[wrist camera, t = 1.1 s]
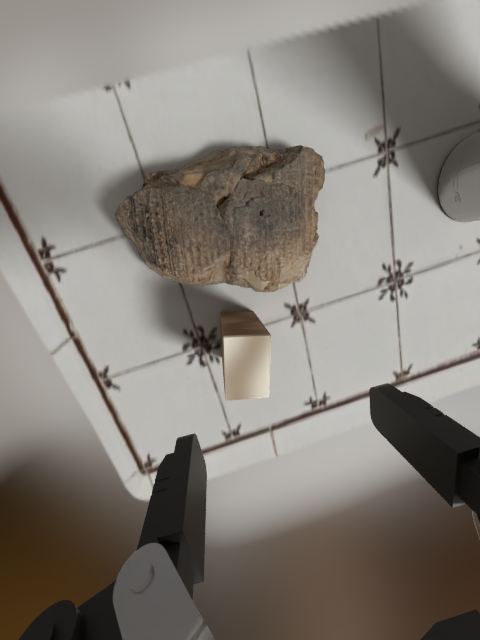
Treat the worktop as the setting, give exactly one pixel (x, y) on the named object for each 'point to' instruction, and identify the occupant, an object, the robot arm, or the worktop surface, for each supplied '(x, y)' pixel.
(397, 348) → the worktop surface
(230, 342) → the walnut block
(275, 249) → the clay tablet
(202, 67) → the worktop surface
